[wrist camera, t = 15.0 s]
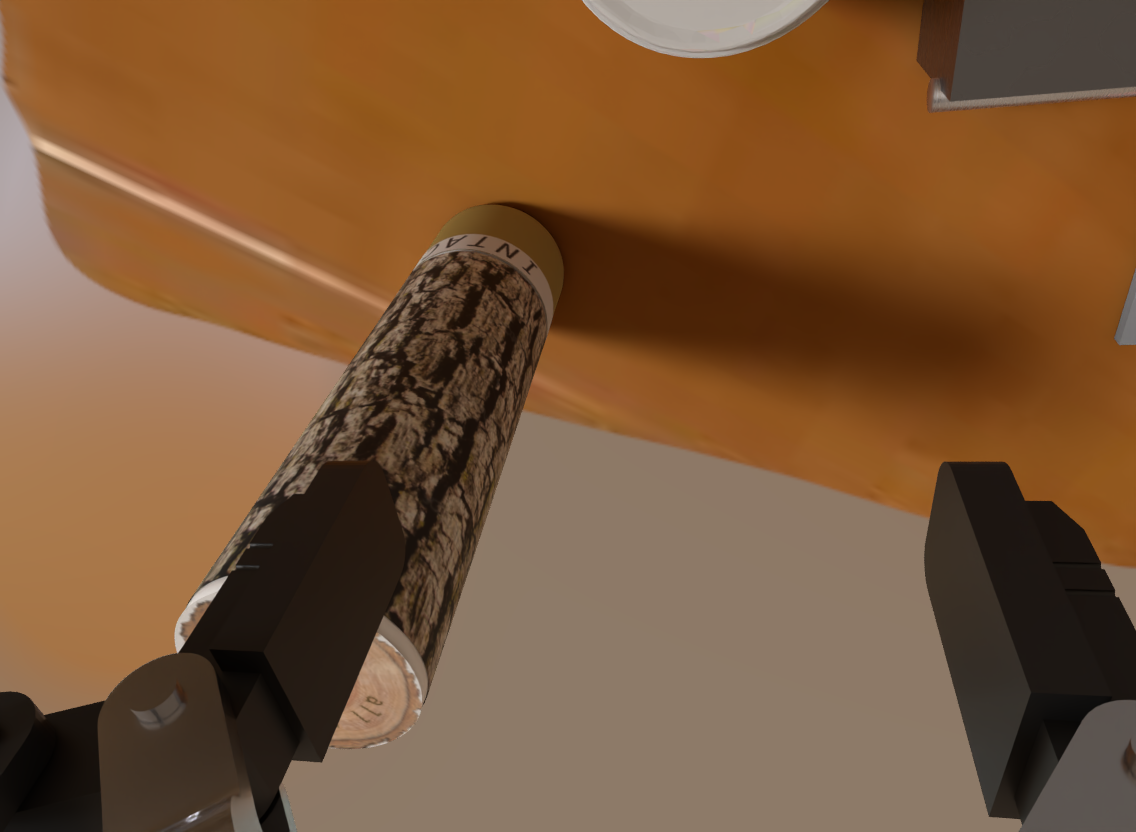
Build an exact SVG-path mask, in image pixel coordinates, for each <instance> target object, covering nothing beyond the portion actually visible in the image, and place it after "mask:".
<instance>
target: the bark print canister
mask: <svg viewBox="0 0 1136 832" xmlns="http://www.w3.org/2000/svg"><path fill="white" fill-rule="evenodd" d="M563 280H564V267H563V260H562V256H561V253H560V250H559V248H558V246H557V244H556V242H555V240H554V239H553V237H552V236H551V235H550V233H549V232H548V231H547V230H546V229H545V227H544V226H542V225H541V224H540V223H539V222H538V221H537V220H535V219H534V218H533V217H531V216H529V215H528V214H526V213H524V212H522V211H520V210H517V209H515V208H511V207H508V206H503V205H493V204H490V205H479V206H475V207H471V208H469V209H466V210H464V211H462V212H460V213H458V214H457V215H455V216H454V217H453V218H452V219H450V220H449V221H448V222H447V223H446V224H445V225H444V226H443V228H442V229H441V231H440V232H439V234H438V235H437V237H436V238H435V240H434V241H433V243H432V244H431V246H430V247H429V248H428V250H427V251H426V253H425V254H424V255H423V257H422V258H421V259H420V261H419V262H418V264H417V265H416V267H415V268H414V270H413V271H412V273H411V274H410V276H409V277H408V279H407V280H406V281H405V283H404V284H403V286H402V287H401V289H400V290H399V292H398V293H397V295H396V296H395V298H394V299H393V301H392V302H391V304H390V305H389V307H388V308H387V310H386V311H385V312H384V314H383V315H382V317H381V318H380V320H379V321H378V323H377V324H376V326H375V327H374V329H373V330H372V332H371V333H370V335H369V336H368V338H367V339H366V341H365V342H364V344H363V345H362V346H361V348H360V349H359V351H358V352H357V354H356V355H355V357H354V358H353V360H352V361H351V363H350V364H349V366H348V367H347V369H346V370H345V372H344V373H343V375H342V376H341V377H340V379H339V381H338V382H337V383H336V385H335V386H334V388H333V389H332V391H331V392H330V394H329V395H328V397H327V398H326V400H325V401H324V403H323V404H322V406H321V407H320V409H319V410H318V412H317V413H316V414H315V416H314V417H313V419H312V421H311V422H310V423H309V425H308V426H307V428H306V429H305V431H304V432H303V434H302V435H301V437H300V438H299V440H298V441H297V443H296V444H295V445H294V447H293V449H292V450H291V451H290V453H289V454H288V456H287V457H286V459H285V460H284V462H283V463H282V465H281V466H280V468H279V469H278V471H277V472H276V474H275V475H274V476H273V478H272V480H271V481H270V482H269V484H268V486H267V487H266V488H265V490H264V491H263V493H262V494H261V496H260V497H259V499H258V500H257V502H256V503H255V505H254V506H253V507H252V509H251V511H250V512H249V514H248V515H247V517H246V518H245V519H244V521H243V522H242V524H241V525H240V527H239V528H238V530H237V531H236V533H235V534H234V536H233V537H232V539H231V540H230V541H229V543H228V544H227V546H226V547H225V549H224V550H223V552H222V553H221V555H220V556H219V558H218V559H217V561H216V562H215V564H214V565H213V567H212V568H211V570H210V571H209V572H208V574H207V575H206V577H205V578H204V580H203V581H202V583H201V584H200V586H199V587H198V589H197V590H196V592H195V593H194V595H193V596H192V598H191V599H190V601H189V602H188V604H187V607H186V609H185V611H184V612H183V613H182V615H181V616H180V618H179V620H178V622H177V625H176V629H175V645H176V649H177V653H178V652H179V651H180V650H181V648H182V647H183V645H184V644H185V642H186V640H187V639H188V637H189V636H190V634H191V633H192V631H193V630H194V628H195V627H196V625H197V623H198V622H199V620H200V619H201V617H202V616H203V614H204V613H205V611H206V610H207V608H208V607H209V605H210V603H211V602H212V600H213V599H214V597H215V596H216V594H217V593H218V591H219V590H220V588H221V586H222V585H223V583H224V582H225V580H226V579H227V577H228V576H229V574H230V573H231V571H232V570H235V569H236V563H237V562H238V560H239V559H240V557H241V556H242V554H243V552H244V551H245V549H246V548H250V542H251V540H252V539H253V537H254V536H255V534H256V532H257V531H258V529H259V528H260V526H261V525H262V523H263V522H264V520H265V519H266V517H267V516H268V515H269V514H271V513H272V512H273V511H274V510H275V509H276V508H278V507H279V506H280V505H281V504H282V503H284V502H285V501H286V500H287V499H288V498H289V497H291V496H292V495H293V494H304V493H305V492H306V490H307V488H308V487H309V485H310V484H311V482H312V480H313V479H314V477H315V475H316V474H317V472H318V471H319V469H320V467H321V466H322V465H323V464H324V463H325V462H327V461H376V462H378V463H379V464H380V466H381V467H382V469H383V472H384V475H385V478H386V481H387V484H388V487H389V490H390V493H391V496H392V499H393V502H394V505H395V508H396V511H397V514H398V517H399V520H400V523H401V526H402V529H403V533H404V537H405V561H404V566H403V570H402V573H401V576H400V578H399V581H398V583H397V585H396V588H395V590H394V592H393V595H392V597H391V600H390V602H389V604H388V607H387V609H386V611H385V614H384V616H383V619H382V621H381V623H380V626H379V628H378V630H377V633H376V635H375V638H374V640H373V642H372V645H371V647H370V649H369V652H368V654H367V657H366V659H365V661H364V664H363V666H362V668H361V671H360V673H359V676H358V678H357V680H356V683H355V685H354V687H353V690H352V692H351V695H350V697H349V699H348V702H347V704H346V706H345V709H344V711H343V714H342V716H341V718H340V721H339V723H338V725H337V728H336V730H335V733H334V735H333V737H332V740H331V742H330V744H329V747H328V748H336V749H359V748H368V747H373V746H378V745H382V744H385V743H388V742H390V741H392V740H395V739H397V738H398V737H400V736H402V735H404V734H405V733H406V732H407V731H409V730H410V729H411V728H412V726H413V725H414V724H415V723H416V721H417V719H418V717H419V715H420V712H421V708H422V706H423V704H424V703H425V700H426V698H427V695H428V692H429V689H430V686H431V683H432V680H433V677H434V674H435V671H436V668H437V665H438V662H439V659H440V656H441V653H442V650H443V647H444V644H445V640H446V638H447V635H448V632H449V629H450V626H451V623H452V620H453V617H454V614H455V610H456V607H457V605H458V602H459V599H460V596H461V593H462V590H463V587H464V584H465V581H466V578H467V575H468V572H469V569H470V566H471V563H472V560H473V557H474V554H475V551H476V547H477V545H478V541H479V539H480V536H481V532H482V530H483V527H484V524H485V521H486V518H487V515H488V512H489V509H490V506H491V503H492V500H493V497H494V494H495V490H496V487H497V485H498V481H499V479H500V475H501V473H502V470H503V466H504V464H505V461H506V458H507V455H508V452H509V449H510V445H511V442H512V440H513V437H514V434H515V431H516V428H517V424H518V422H519V418H520V415H521V412H522V409H523V406H524V403H525V400H526V397H527V394H528V391H529V388H530V385H531V382H532V379H533V376H534V373H535V370H536V367H537V364H538V361H539V358H540V355H541V352H542V349H543V346H544V343H545V340H546V337H547V334H548V331H549V328H550V325H551V322H552V318H553V315H554V312H555V309H556V306H557V303H558V300H559V297H560V294H561V291H562V287H563Z"/></svg>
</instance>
